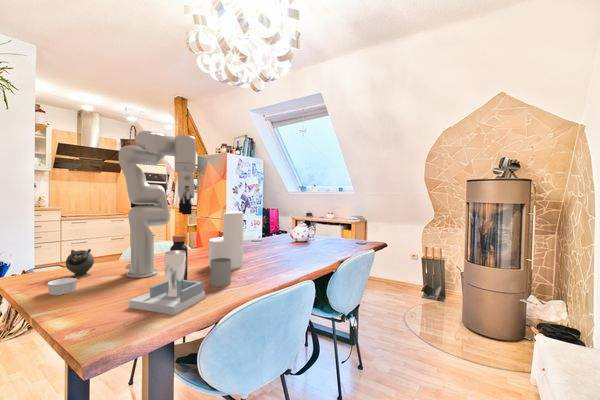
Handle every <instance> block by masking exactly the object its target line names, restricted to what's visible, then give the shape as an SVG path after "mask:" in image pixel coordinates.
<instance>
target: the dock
mask: <svg viewBox="0 0 600 400" xmlns="http://www.w3.org/2000/svg"><path fill="white" fill-rule="evenodd" d="M166 291H167V280H165V281H162V282H160V283H157V284H155V285H152V286H150V287H149V291H148V292H146V293H144V294H141V295H139V296H136V297H133V298H131V299H129V300H128V303H129V304H128V307H129V309H136V310H139V311H140V310H141V311H148V312H153V313H154V312H155V313H160V314H167V315H173V316H174V315H177V314H179V313H181V312H183V311H185V310H186V309H188V308H190V307H192V306H193V305H195V304H198V302H201V301H202V300H204V299H205V297H206V291H205V290H204V282H203V281H195V280H188V279H187V280H184V289H183V290H181V291H180V297H175V298H170V297H167V296H166Z"/></svg>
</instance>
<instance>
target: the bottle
mask: <svg viewBox="0 0 600 400" xmlns="http://www.w3.org/2000/svg"><path fill="white" fill-rule="evenodd" d="M185 242H186V235H184V234H175V235H172V243H173V244H172V245H171V246H170V249H169V251H173V250H183V251H186V271H185V276H184V280H188V246H187V245H186V244H185Z"/></svg>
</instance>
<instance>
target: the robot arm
mask: <svg viewBox="0 0 600 400" xmlns="http://www.w3.org/2000/svg"><path fill="white" fill-rule="evenodd" d="M134 141H135V144H136V145H125V146H122V147H121V148H120V149H119V151H118V163H119V166H120V169H121V171H122V173H123V175H124V178H125V182H126V189H127V194H128V200H129V202H130V203H131V204H134V205H137V206H133V207H132V208H130V209H129V211H128V213H127V214H128V215H127V217H128V223H129V232H130V263H128V264H127V265H126V266H125V267H124V268H125V270H128V272H127V273H126V277H128V278H131V279H138V278H139V279H141V278H148V277H153V276H156V275H157V274H158V272H159V271H158V269H156V268H155V237H154V236H155V235H154V232H153V231H152V230H151V229H150V228H149V227H156V226H157V227H158V226H164V225H167V224H168V223H169V221H170V218H171V215H170V214H171V213H170V208H169V202H168V199H167V198H168V197H167V193H166V191H165V188H164V187H163V186H162V185H159V184H155V183H154V184H150V183H148V182H147V178H146V177H147V176H146V174H145V172H144V171H143V170H142V169H141V167H139V166H138V165H140V166H141V165H144V166H157V165H159V164H160V163H161V162H162V161H163V159H164V158H165V157H167V156H169V157H174V172H175V173H177V194H178V195H177V196H178V198H179V199H178V200H179V201H178V213H180V214H182V215H188V216H189V215H192V213H193V212H192V206H193V205H192V199H194V198H195V177H194V175H195V173H197V171H196V170H197V168H196V165H197V162H196V161H197V155H196V154H197V152H196V151H197V149H196V148H197V142H196V141H197V140H196V138H195V137H194V136H192V135H188V134H178V135H176V136H171V135H168V134H166V133H163V132H162V133H161V132H158V131H150V130H142V131H139V132H138V133H137V134H136V135H135V138H134Z"/></svg>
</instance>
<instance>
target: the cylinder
mask: <svg viewBox="0 0 600 400" xmlns="http://www.w3.org/2000/svg"><path fill="white" fill-rule="evenodd" d="M222 220H223V223H222V224H223V227H222V228H223V229H222V230H223V231H222V233H223V234H222V235H223V236H221V237H220V236H219V237H213V238H209V240H208V252H209V253H208V268H210V262H211V260H212V259H216V258H229V259H231V270H237V269H239V268H242V267H243V266H244V265H243V264H244V211H239V210H237V211H235V210H233V211H232V210H229V211H227V212H223V219H222Z"/></svg>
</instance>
